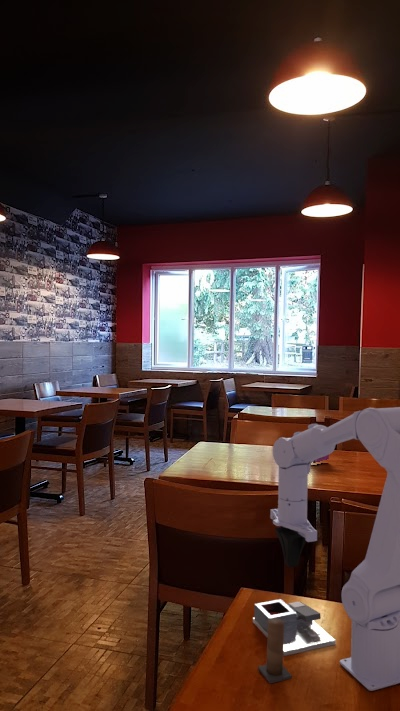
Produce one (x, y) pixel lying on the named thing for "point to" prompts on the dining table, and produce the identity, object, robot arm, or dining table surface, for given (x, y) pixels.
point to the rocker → (304, 611)
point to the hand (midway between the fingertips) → (291, 565)
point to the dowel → (275, 647)
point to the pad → (273, 679)
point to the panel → (292, 628)
